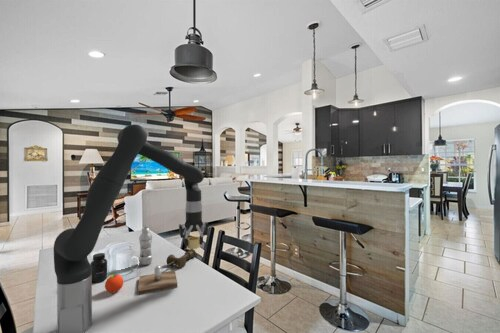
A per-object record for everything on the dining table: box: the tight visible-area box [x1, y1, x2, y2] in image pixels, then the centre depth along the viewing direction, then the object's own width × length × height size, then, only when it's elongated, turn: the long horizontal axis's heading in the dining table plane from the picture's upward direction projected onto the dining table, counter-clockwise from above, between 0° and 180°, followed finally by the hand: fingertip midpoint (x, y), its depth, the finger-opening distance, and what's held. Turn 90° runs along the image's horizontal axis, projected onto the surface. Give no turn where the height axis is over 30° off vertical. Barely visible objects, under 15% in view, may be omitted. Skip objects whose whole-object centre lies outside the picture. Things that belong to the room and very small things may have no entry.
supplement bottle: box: [89, 252, 108, 284], centre depth 110 cm, size 7×7×12 cm
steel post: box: [153, 265, 162, 281], centre depth 107 cm, size 3×3×6 cm
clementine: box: [104, 274, 124, 294], centre depth 100 cm, size 8×7×7 cm
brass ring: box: [186, 235, 201, 250], centre depth 110 cm, size 6×6×4 cm
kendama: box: [166, 249, 197, 269], centre depth 128 cm, size 6×10×20 cm
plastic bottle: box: [138, 226, 153, 266], centre depth 126 cm, size 6×7×20 cm
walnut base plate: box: [137, 269, 178, 296], centre depth 107 cm, size 14×16×2 cm
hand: (193, 244), depth 111 cm, fingers closed on brass ring, 6 cm apart
